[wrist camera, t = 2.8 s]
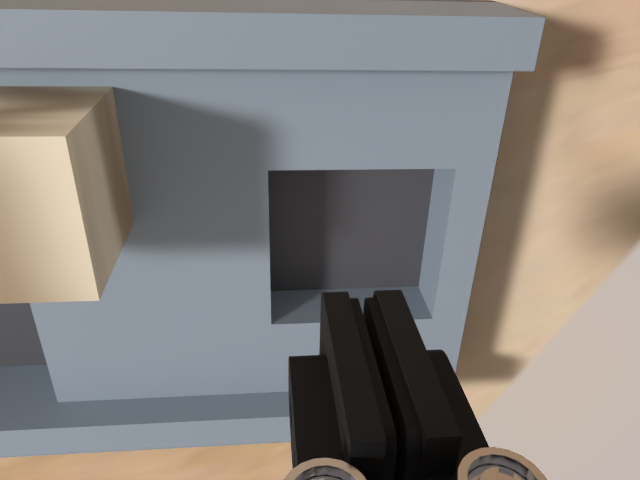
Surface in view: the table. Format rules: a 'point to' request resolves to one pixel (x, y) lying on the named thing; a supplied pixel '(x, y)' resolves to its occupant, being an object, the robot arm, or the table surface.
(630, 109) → the table surface
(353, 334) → the robot arm
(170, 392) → the box
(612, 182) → the table surface
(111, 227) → the maple block
